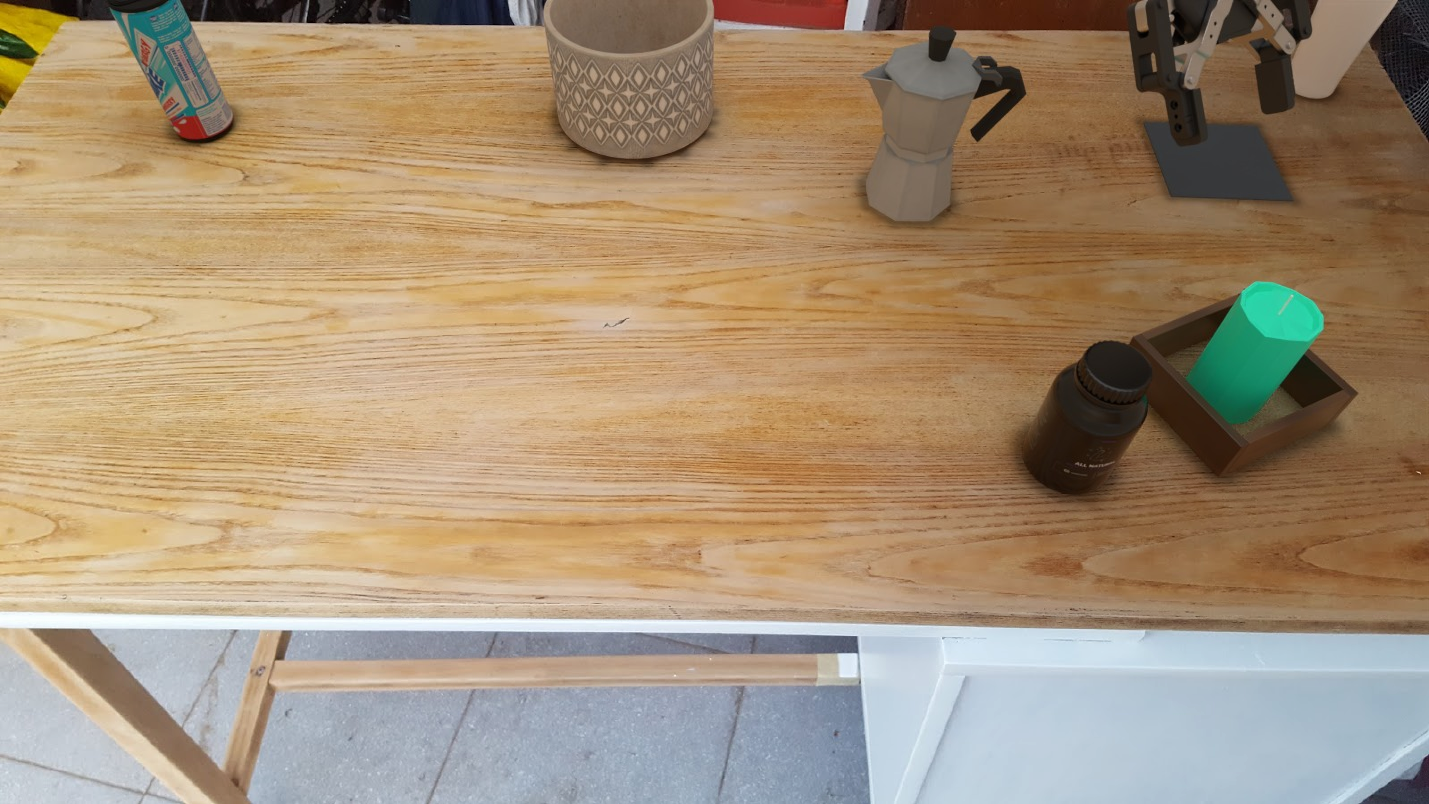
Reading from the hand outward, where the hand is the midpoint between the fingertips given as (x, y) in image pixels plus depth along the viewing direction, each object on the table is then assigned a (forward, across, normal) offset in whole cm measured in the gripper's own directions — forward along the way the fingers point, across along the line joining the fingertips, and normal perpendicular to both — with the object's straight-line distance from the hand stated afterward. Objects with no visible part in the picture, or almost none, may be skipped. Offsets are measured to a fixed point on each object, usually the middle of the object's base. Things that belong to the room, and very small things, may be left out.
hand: (1236, 127), depth 68 cm
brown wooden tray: (+22, 0, +6) cm, 23 cm away
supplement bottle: (+22, -16, +7) cm, 27 cm away
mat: (+7, +22, +23) cm, 33 cm away
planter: (-15, -27, +48) cm, 58 cm away
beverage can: (-27, -68, +63) cm, 97 cm away
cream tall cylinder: (+4, +42, +27) cm, 50 cm away
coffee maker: (+1, -8, +30) cm, 31 cm away
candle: (+22, 0, +6) cm, 22 cm away
